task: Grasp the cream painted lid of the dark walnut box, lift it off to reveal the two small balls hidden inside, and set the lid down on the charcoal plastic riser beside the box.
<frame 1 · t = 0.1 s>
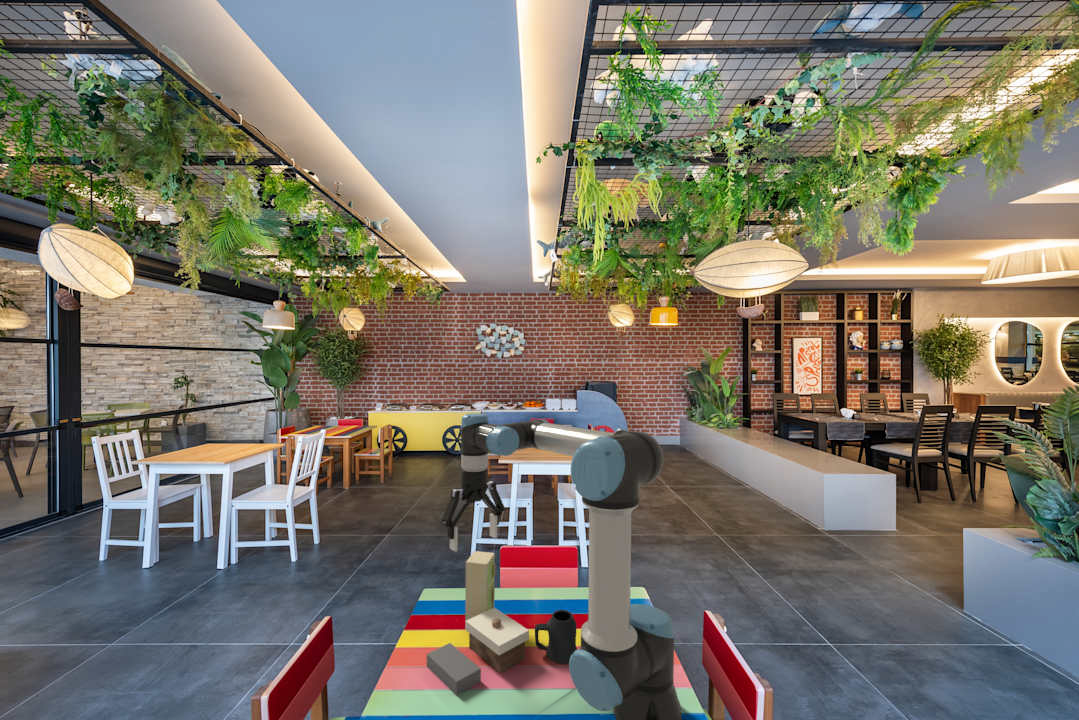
hand: (474, 543, 134), 28 cm above the table, fingers open, 13 cm apart
ball terracotta: (503, 658, 126), point 1 cm above the table, touching box
riser: (453, 676, 120), on the table
ball bluegrey: (489, 648, 130), point 1 cm above the table, touching box
box: (496, 656, 128), on the table
lid: (496, 634, 128), point 6 cm above the table, touching box
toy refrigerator: (481, 627, 141), on the table
mug: (556, 657, 128), on the table
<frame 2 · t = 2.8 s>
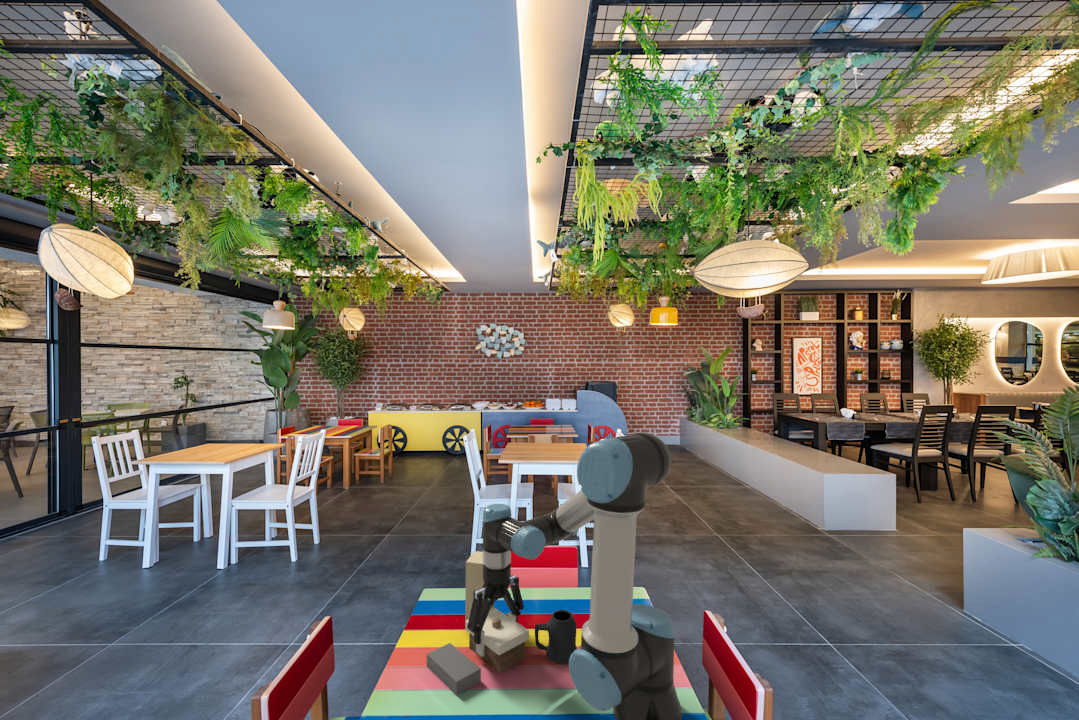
hand: (496, 645, 128), 3 cm above the table, fingers closed on lid, 10 cm apart
lid: (496, 634, 128), point 6 cm above the table, touching box, gripper
everything else where it was.
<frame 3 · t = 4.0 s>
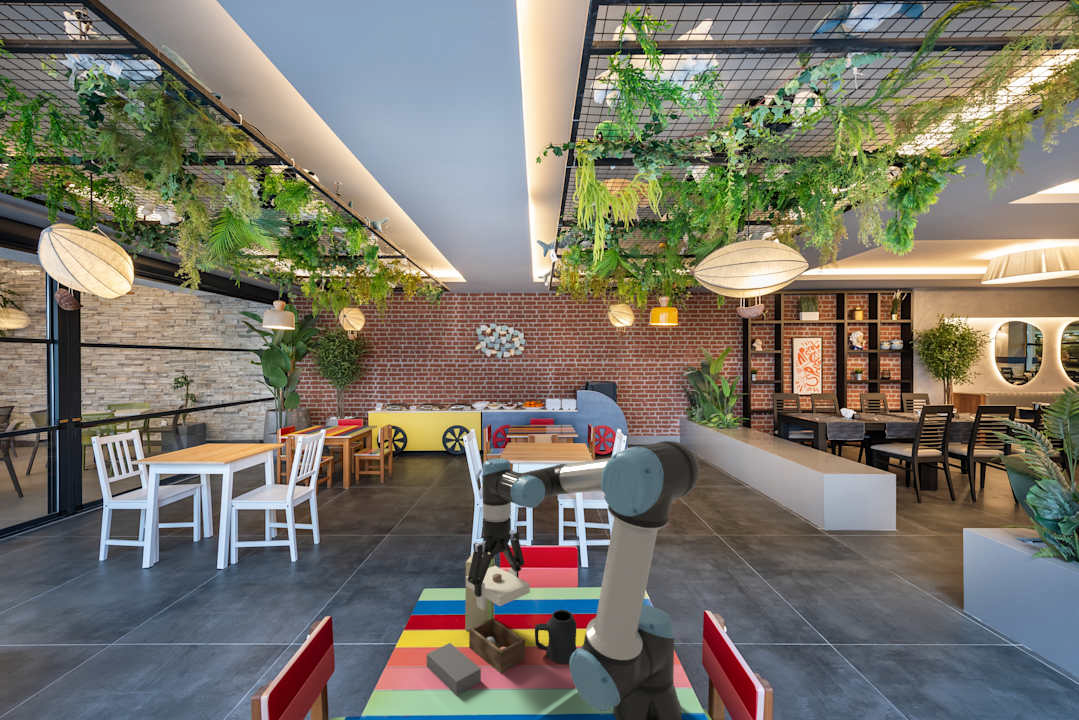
hand: (497, 600, 127), 15 cm above the table, fingers closed on lid, 10 cm apart
lid: (497, 589, 127), point 18 cm above the table, touching gripper
everything else where it was.
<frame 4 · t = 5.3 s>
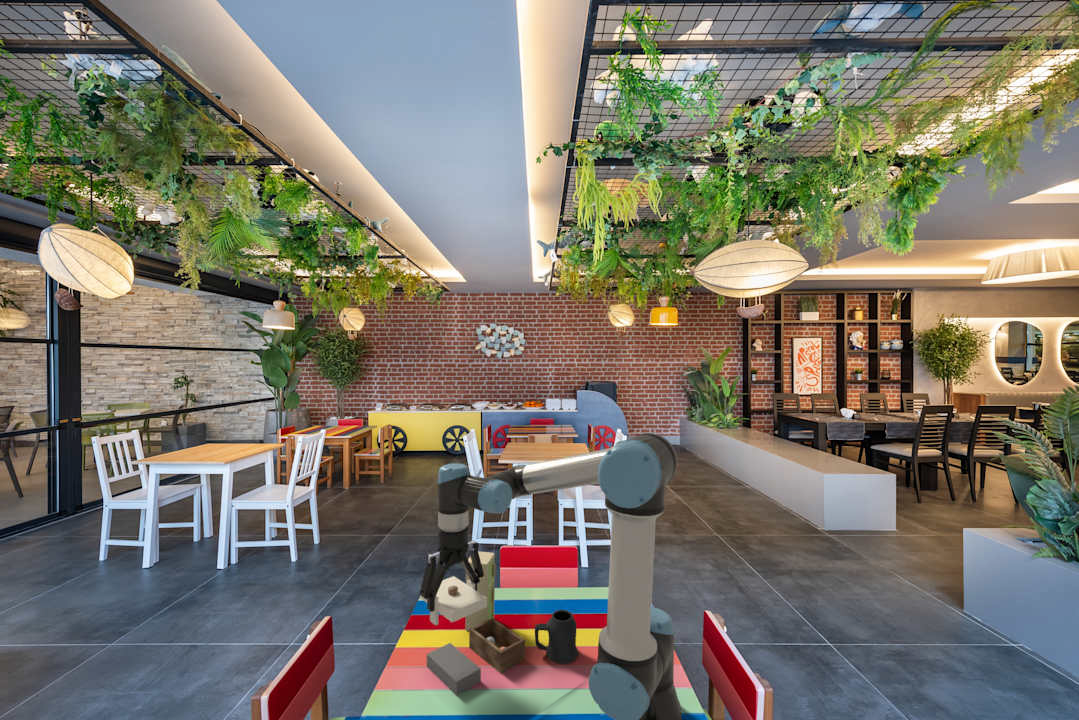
hand: (453, 614, 119), 16 cm above the table, fingers closed on lid, 10 cm apart
lid: (452, 602, 119), point 19 cm above the table, touching gripper
everything else where it was.
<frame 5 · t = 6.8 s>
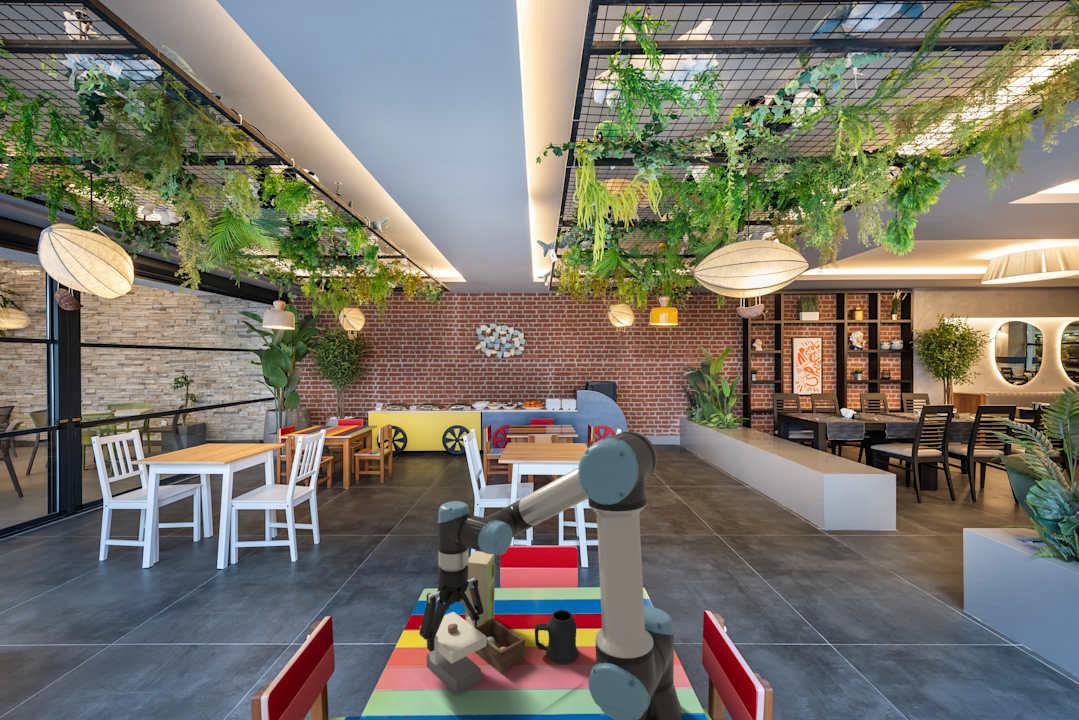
hand: (452, 652, 120), 6 cm above the table, fingers closed on lid, 10 cm apart
lid: (452, 640, 120), point 9 cm above the table, touching gripper
everything else where it was.
when the fingers open (2 cm above the table, at t = 8.1 s): lid drops 1 cm, resting on riser.
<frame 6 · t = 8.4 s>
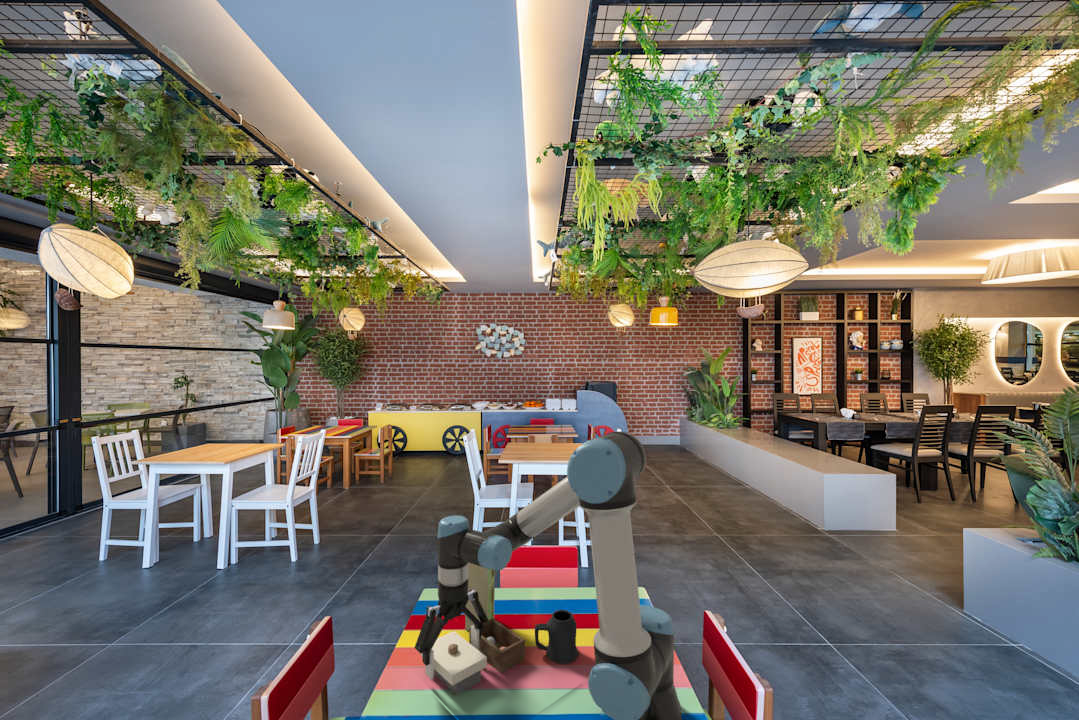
hand: (453, 663, 120), 3 cm above the table, fingers open, 13 cm apart
lid: (453, 660, 120), point 4 cm above the table, touching riser
everything else where it was.
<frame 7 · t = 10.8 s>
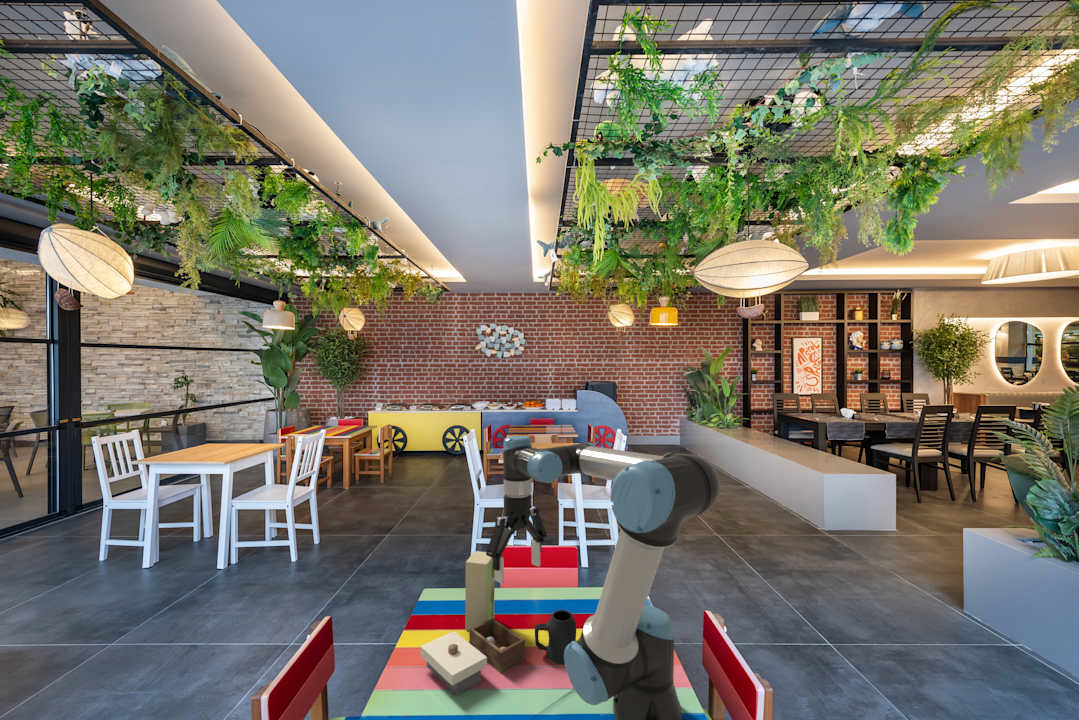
hand: (518, 573, 128), 22 cm above the table, fingers open, 13 cm apart
nothing on the table moved.
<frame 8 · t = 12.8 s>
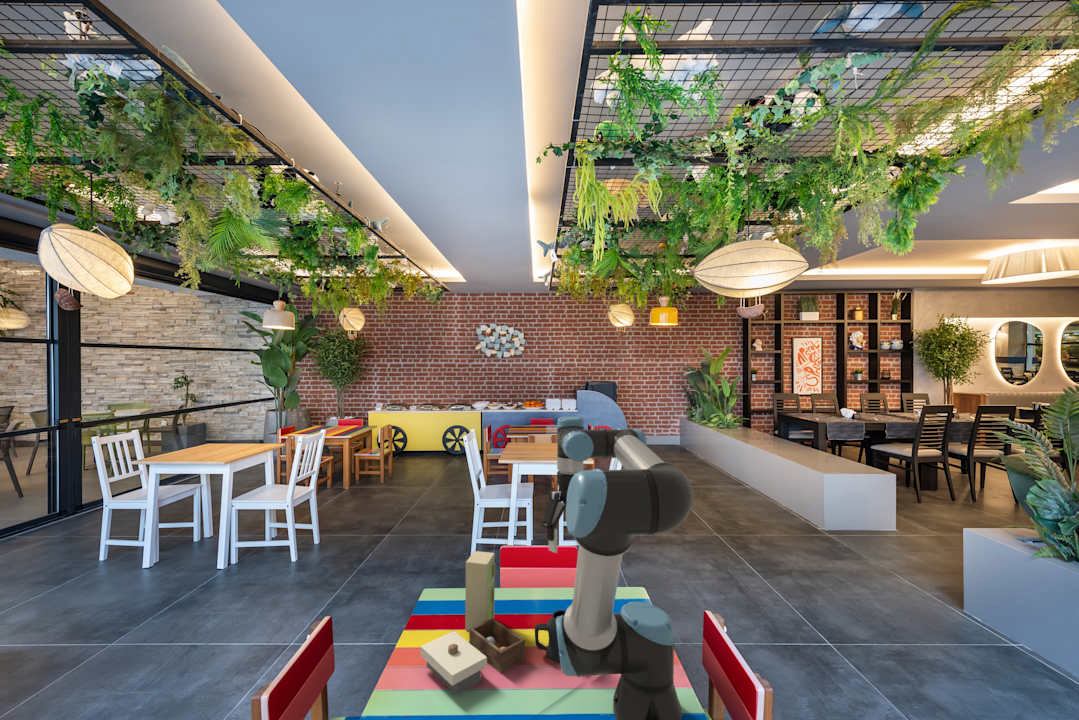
hand: (569, 544, 136), 27 cm above the table, fingers open, 13 cm apart
nothing on the table moved.
at the end: lid inside the target area on the riser (0.0 cm from its centre), point 4.0 cm above the riser's base; lid tilted 0°; lid touching riser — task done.
